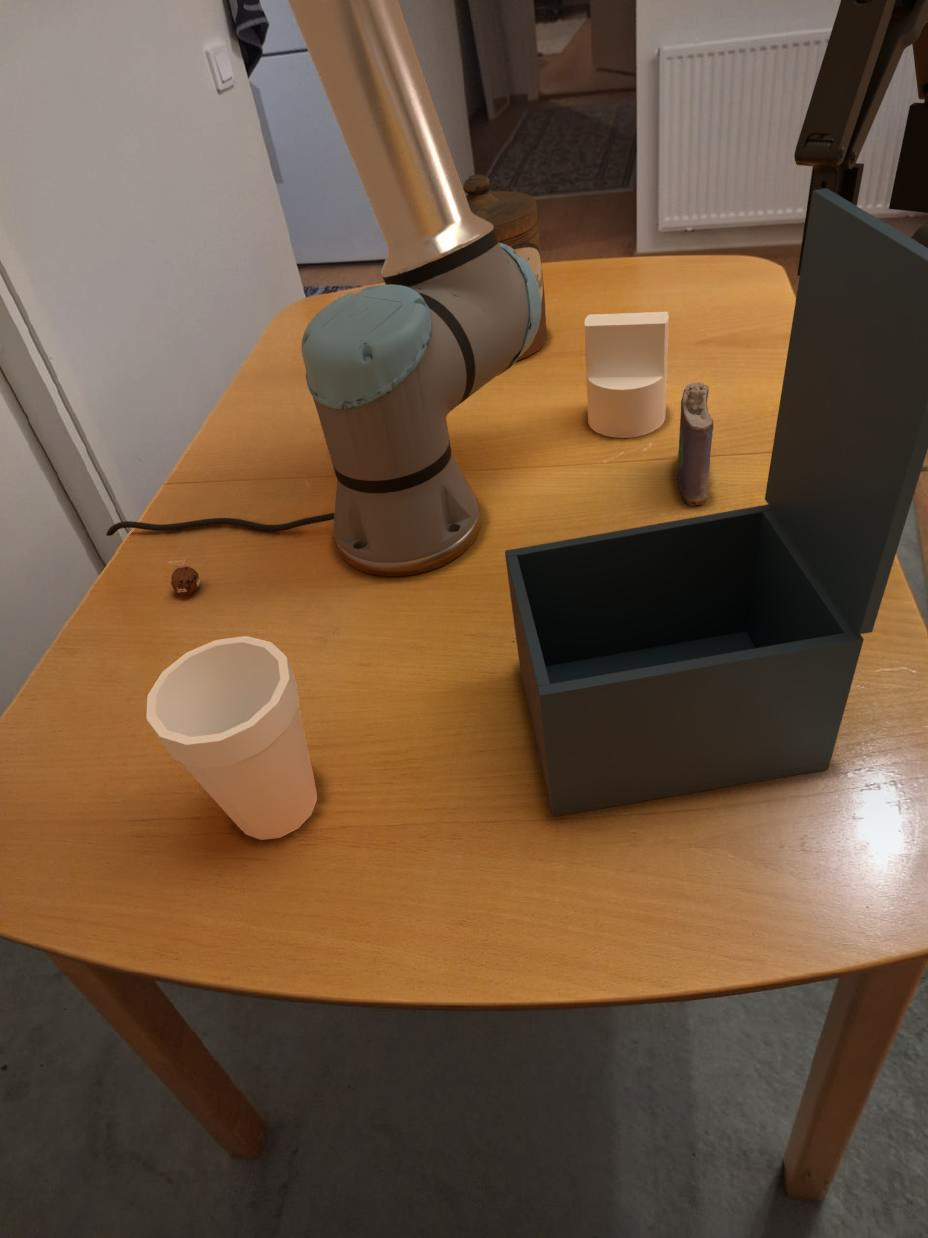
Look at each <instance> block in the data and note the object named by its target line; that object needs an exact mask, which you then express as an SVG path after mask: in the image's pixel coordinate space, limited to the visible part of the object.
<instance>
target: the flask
mask: <svg viewBox="0 0 928 1238" xmlns="http://www.w3.org/2000/svg"><path fill="white" fill-rule="evenodd" d="M709 390H710V388H709V386H708V385H707V384H705V383H702V382H690V383H688V384H687V385H686V386H685V387H684V390H683V393H682V396H681V400H680V419H679V421H680V422H679V436H678V437H679V438H678V439H679V440H678V452H677V456H678V457H677V465H676V470H675V471H676V473H675V477H676V478H675V480H676V482H677V488H678V490H679V494H680V498H681V499H682V500H683V502H684V503H686V505H689V506H694V507H695V506H698V505H699V506H700V505H701V506H703V505H704V504H705V502H707V499H708V496H709V493H708V488H709V477H710V464H711V463H710V462H711V451H712V441H713V436H714V435H713V431H714V420H713V418H712V416H711V414H710V412H709V408H708V398H709Z"/></svg>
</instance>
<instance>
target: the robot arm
mask: <svg viewBox="0 0 928 1238" xmlns="http://www.w3.org/2000/svg"><path fill="white" fill-rule="evenodd" d="M287 2H288V4H289V8H290V10H291V12H292V15H293V17H294V19H295V22H296V24H297V26H298V27H297V28H298V29H299V32H300V34H301V37H302V39H303V41H304V44H305V47H306V49H307V52H308V54H309V57H310V59H311V61H312V64H313V67H314V69H315V71H316V74H317V76H318V79H319V81H320V84H321V86H322V89H323V91H324V94H325V96H326V99H327V102H328V103H329V106H330V108H331V110H332V113H333V116H334V119H335V120H336V121H335V122H336V123H337V126H338V128H339V131H340V133H341V135H342V139H343V141H344V144H345V146H346V147H347V151H348V154H349V156H350V158H351V161H352V163H353V165H354V168H355V170H356V173H357V175H358V178H359V180H360V183H361V185H362V187H363V190H364V192H365V195H366V198H367V200H368V203H369V205H370V207H371V210H372V213H373V215H374V217H375V220H376V222H377V225H378V227H379V230H380V232H381V235H382V238H383V239H384V242H385V244H386V248H387V250H386V251H387V254H386V257H385V259H384V262H383V265H382V268H381V272H380V274H381V276H382V280H383V282H384V284H377V285H372V286H369V287H368V286H367V287H364V288H362V289H361V290H360V291H359V292H357V293H353V292H349V293H346V294H345V295H343V296H341V297H338V298H336V299H335V300H333V301H331V302H329V303H328V304H327V305H326V306H324V307H323V308H322V309H320V310H319V311H318V312H317V313H316V314H315V315H314V316H313V318H311V319H310V321H309V322H308V324H307V325H306V327H305V329H304V332H303V334H302V339H301V354H302V355H301V356H302V359H303V365H304V368H305V381H306V385H307V389H308V391H309V393H310V395H311V396H312V399H313V402H314V406H315V409H316V413H317V416H318V419H319V422H320V427H321V429H322V434H323V437H324V440H325V443H326V444H325V445H326V447H327V450H328V454H329V458H330V461H331V464H332V468H333V471H334V475H335V478H336V479H335V480H336V486H335V487H336V488H335V498H334V499H335V500H334V512H330V513H324V514H319V515H315V516H310V517H304V518H300V519H297V520H293V521H289V522H286V523H280V524H267V523H260V522H259V523H258V522H254V521H250V520H245V519H240V518H233V517H213V518H204V519H196V520H191V521H183V522H176V523H167V524H166V523H165V524H157V523H149V522H141V521H131V520H125V521H119V522H117V523H115V524H113V525H111V526H110V527H109V528H108V529H107V531H106V534H105V535H106V536H107V537H110V536H114V534H115V533H116V532H117V531H119V530H121V529H139V530H146V531H154V532H167V531H168V532H169V531H170V532H171V531H178V530H185V529H192V528H199V527H206V526H217V525H219V526H221V525H227V526H228V525H231V526H238V527H242V528H247V529H252V530H256V531H262V532H283V531H288V530H292V529H296V528H299V527H303V526H307V525H313V524H318V523H324V522H329V521H333V526H332V527H333V537H334V540H335V543H336V547H337V550H338V553H339V555H340V556H341V558H342V559H343V560H344V561H345V562H346V563H347V564H348V565H349V566H351V567H352V568H354V569H355V570H359V571H361V572H364V573H367V574H370V575H376V576H383V577H384V576H385V577H399V576H400V577H401V576H408V575H409V576H410V575H415V574H420V573H424V572H427V571H430V570H434V569H437V568H439V567H442V566H443V565H446V564H448V563H449V562H452V561H453V560H455V559H456V558H458V557H459V556H461V554H463V553H464V552H465V551H467V550H468V549H469V548H470V546H472V544H473V543H474V542H475V540H476V539H477V537H478V535H479V532H480V530H481V523H482V519H481V518H482V517H481V513H480V512H481V511H480V506H479V501H478V499H477V497H476V495H475V492H474V491H473V489H472V488H471V486H470V484H469V482H468V480H467V479H466V477H465V475H464V473H463V471H462V470H461V468H460V466H459V464H458V463H457V461H456V459H455V457H454V456H453V452H452V451H453V450H452V447H451V442H450V433H449V428H448V422H447V417H448V414H449V413H451V412H452V411H453V410H454V409H456V408H457V407H458V406H459V405H460V404H463V402H465V401H466V400H467V399H469V398H470V397H472V395H474V394H475V393H476V392H478V391H479V390H480V389H481V388H483V387H484V386H485V385H486V384H488V383H489V382H491V381H492V380H493V379H495V378H496V377H498V376H500V375H502V374H503V373H505V372H506V371H508V370H510V369H511V367H513V366H514V364H515V363H516V362H517V359H518V358H519V357H520V356H521V355H522V354H523V353H524V352H525V351H526V350H527V349H528V348H529V347H530V345H531V344H532V342H533V340H534V338H535V336H536V334H537V331H538V328H539V324H540V319H541V296H540V291H539V286H538V283H537V280H536V278H535V275H534V273H533V271H532V269H531V268H530V266H529V264H528V263H527V262H526V260H525V259H524V258H523V257H518V256H517V255H515V254H516V251H515V250H514V249H513V248H511V247H509V246H507V245H505V244H502V243H499V241H498V239H497V236H496V233H495V230H494V227H493V224H492V223H490V222H488V221H486V220H484V219H482V218H480V217H478V216H477V215H475V214H474V213H473V212H472V211H471V210H470V207H469V204H468V201H467V198H466V192H465V191H464V190H463V184H462V182H461V179H460V175H459V172H458V170H457V167H456V164H455V162H454V158H453V155H452V153H451V149H450V147H449V144H448V141H447V138H446V135H445V132H444V129H443V126H442V124H441V121H440V118H439V115H438V112H437V109H436V106H435V104H434V101H433V98H432V94H431V91H430V89H429V87H428V83H427V81H426V78H425V75H424V71H423V69H422V66H421V63H420V59H419V57H418V55H417V52H416V49H415V46H414V42H413V39H412V37H411V34H410V31H409V29H408V25H407V23H406V19H405V16H404V14H403V11H402V8H401V6H400V5H401V4H400V3H399V0H287ZM911 45H912V46H911ZM910 46H911V47H912V52H913V53H912V55H913V62H914V71H915V79H916V89H917V97H918V100H923V101H924V102H912V104H910V105H909V107H908V112H907V117H906V121H905V122H906V123H905V127H904V132H903V137H902V142H901V148H900V152H899V157H898V161H897V167H896V171H895V176H894V182H893V185H892V189H891V190H892V191H891V195H890V201H889V206H888V210H895V211H903V212H904V211H905V212H913V213H925V214H928V0H840V4H839V6H838V9H837V12H836V16H835V19H834V22H833V26H832V29H831V32H830V35H829V38H828V41H827V44H826V48H825V51H824V55H823V58H822V61H821V65H820V67H819V70H818V74H817V76H816V77H817V78H816V81H815V83H814V87H813V91H812V94H811V97H810V101H809V103H808V107H807V110H806V114H805V117H804V120H803V122H802V127H801V130H800V133H799V137H798V140H797V142H796V146H795V149H794V155H793V157H794V162H795V165H797V166H801V167H802V166H804V167H812V169H811V177H810V183H809V189H808V190H809V191H808V198H807V204H806V210H805V211H806V212H805V218H804V225H803V232H802V239H801V247H800V253H799V259H798V268H797V274H796V276H798V277H800V270H801V264H802V258H803V251H804V245H805V238H806V232H807V226H808V219H809V213H810V207H811V200H812V194H813V191H814V190H819V189H825V188H827V189H829V190H830V191H832V192H834V193H835V194H837V195H839V196H840V197H842V198H844V199H845V200H847V201H849V202H851V203H852V204H854V205H856V206H857V207H858V201H859V197H860V196H859V195H860V192H861V190H860V189H861V186H862V185H861V184H862V179H863V173H864V169H865V163H860V162H859V163H858V162H857V161H858V159H859V157H860V155H861V152H862V150H863V147H864V145H865V143H866V140H867V138H868V136H869V133H870V131H871V129H872V126H873V124H874V122H875V120H876V117H877V114H878V112H879V110H880V108H881V105H882V103H883V101H884V99H885V96H886V94H887V91H888V89H889V86H890V84H891V82H892V80H893V77H894V74H895V72H896V70H897V67H898V66H899V63H900V60H901V59H902V56H903V53H904V51H905V50H906V49H907V48H908V47H910Z"/></svg>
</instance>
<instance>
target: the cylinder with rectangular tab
mask: <svg viewBox="0 0 928 1238" xmlns="http://www.w3.org/2000/svg"><path fill="white" fill-rule="evenodd" d="M669 323H670V316H669V312H668V311H651V312H650V311H649V312H648V311H647V312H621V313H619V312H618V313H594V314H587V316H586V317H585V319H584V345H585V348H584V349H585V350H584V351H585V372H586V374H585V375H586V377H585V378H586V398H587V399H586V400H587V423H588V425H589V428H590V429H591V430H593V431H594V433H597V434H599V435H601V436H605V437H609V438H615V439H616V438H617V439H628V438H630V439H632V438H636V437H641V436H645V435H647V434H651V433H653V432H654V431H656V430H658V429H660V427H661V426H663V424H664V423H665V420H666V412H667V411H666V410H667V409H666V408H667V381H668V377H667V376H668V355H669V354H668V353H669V352H668V350H669V325H670V324H669Z"/></svg>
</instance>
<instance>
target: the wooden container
mask: <svg viewBox="0 0 928 1238" xmlns="http://www.w3.org/2000/svg"><path fill="white" fill-rule="evenodd" d="M462 187H463V190H464V193H465V195H466V194H467V195H466V198H467V201H468V204H469V207H470V210H471V211H472V212H473V213H474V214H475V215H477V216H478V217H480V218H482V219H484V220H486V221H488V222H490V223H492V224H493V227H494V230H495V233H496V236H497V239H498V241H499V243H502V244H505V245H507V246H509V247H511V248H513V249H514V250H515V251H516V254H515V255H517V256H518V257H523V258H524V259H525V260H526V262H527V263H528V264H529V266H530V268H531V269H532V271H533V273H534V275H535V278H536V280H537V283H538V286H539V291H540V296H541V319H540V324H539V328H538V331H537V334H536V336H535V338H534V340H533V342H532V344H531V345H530V347H529V348H528V349H527V350H526V351H525V352H524V353H523V354H522V355H521V356H520V357H519V358H518V359H517V361H521V360H523V359H525V358H528V357H529V356H531V355H533V354H535V353H536V352H538V351H539V350H540V349H542V348H543V347H544V345H545V344H546V342H547V339H548V335H547V333H548V332H547V315H546V297H545V286H544V285H545V284H544V274H543V272H544V271H543V263H542V253H541V243H540V241H541V240H540V231H539V225H538V223H539V222H538V221H539V220H538V208H537V207H538V206H537V201H536V199H535V198H534V197H533V196H532V195H530V194H527V193H524V192H517V191H508V190H507V191H506V190H505V191H503V190H502V191H501V190H499V191H498V190H497V191H489V190H490V188H491V182H490V178H489V177H487V176H485V175H484V174H479V173H477V174H472V175H469V176H468V178H467V179H466V180H464V183H463V184H462ZM517 361H516V362H517Z"/></svg>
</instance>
